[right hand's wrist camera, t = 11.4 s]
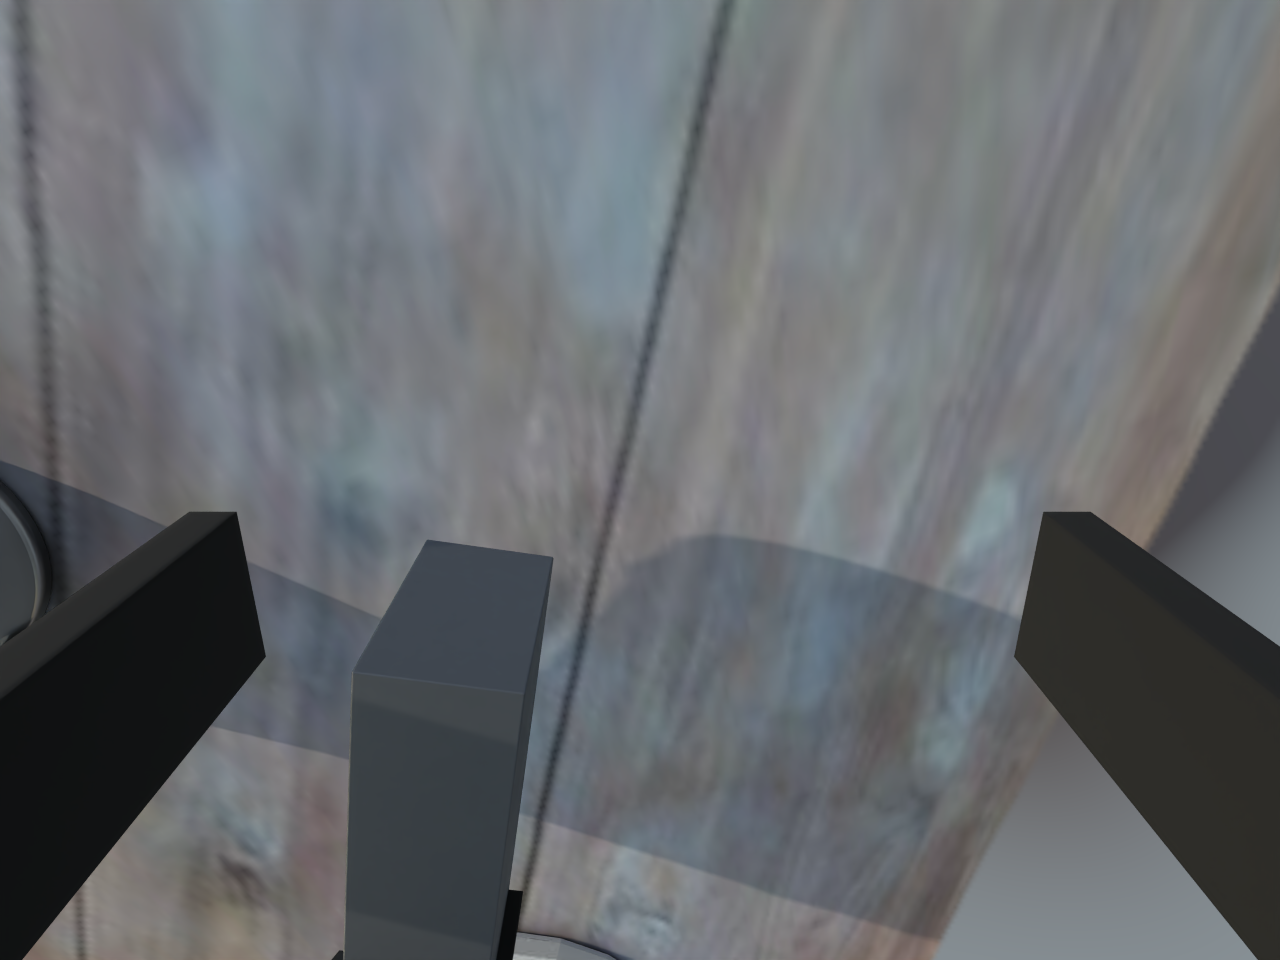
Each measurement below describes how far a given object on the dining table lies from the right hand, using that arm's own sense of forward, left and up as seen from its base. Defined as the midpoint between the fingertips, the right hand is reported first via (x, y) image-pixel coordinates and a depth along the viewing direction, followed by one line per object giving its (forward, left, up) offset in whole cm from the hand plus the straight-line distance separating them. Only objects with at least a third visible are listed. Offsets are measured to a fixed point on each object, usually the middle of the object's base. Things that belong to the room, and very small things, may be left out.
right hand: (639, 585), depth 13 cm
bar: (+13, +16, -17) cm, 26 cm away
